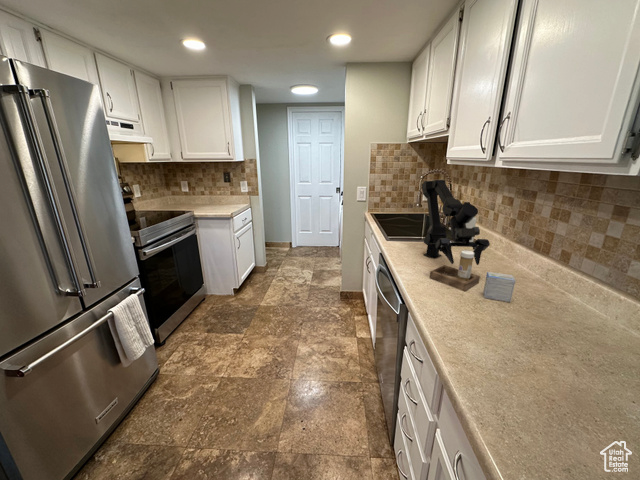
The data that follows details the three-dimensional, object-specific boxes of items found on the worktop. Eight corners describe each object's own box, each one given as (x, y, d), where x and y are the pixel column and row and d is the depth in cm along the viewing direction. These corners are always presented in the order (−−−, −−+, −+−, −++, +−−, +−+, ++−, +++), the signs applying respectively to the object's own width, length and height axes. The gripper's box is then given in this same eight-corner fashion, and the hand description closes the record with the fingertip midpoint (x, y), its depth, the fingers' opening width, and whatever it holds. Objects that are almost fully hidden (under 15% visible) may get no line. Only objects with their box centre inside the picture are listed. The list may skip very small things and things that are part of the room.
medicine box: (508, 297, 94) (513, 275, 92) (510, 303, 90) (516, 280, 88) (482, 292, 98) (486, 271, 95) (484, 298, 94) (488, 276, 91)
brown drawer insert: (429, 278, 110) (430, 271, 109) (443, 271, 116) (444, 265, 115) (465, 291, 98) (466, 284, 98) (478, 283, 105) (479, 276, 104)
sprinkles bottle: (453, 282, 106) (458, 250, 102) (461, 279, 108) (466, 249, 104) (464, 287, 102) (469, 254, 98) (471, 284, 104) (477, 252, 100)
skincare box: (472, 245, 149) (477, 218, 144) (460, 244, 151) (464, 217, 146) (468, 240, 157) (472, 215, 152) (456, 240, 158) (460, 214, 154)
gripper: (441, 218, 103) (447, 255, 96) (492, 219, 101) (501, 256, 94) (433, 232, 113) (437, 266, 106) (479, 233, 111) (487, 267, 104)
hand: (465, 264), depth 102 cm, fingers open, 9 cm apart
